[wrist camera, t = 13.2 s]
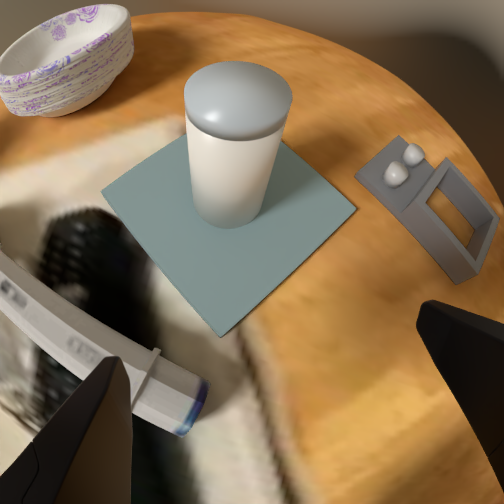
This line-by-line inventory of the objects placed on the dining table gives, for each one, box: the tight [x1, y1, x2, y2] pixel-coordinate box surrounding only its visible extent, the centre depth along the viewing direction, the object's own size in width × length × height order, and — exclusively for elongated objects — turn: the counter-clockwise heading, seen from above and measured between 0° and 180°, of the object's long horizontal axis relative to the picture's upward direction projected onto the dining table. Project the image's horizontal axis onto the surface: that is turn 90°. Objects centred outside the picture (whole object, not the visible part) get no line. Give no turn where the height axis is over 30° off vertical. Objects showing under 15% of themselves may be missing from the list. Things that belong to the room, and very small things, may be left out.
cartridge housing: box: [355, 135, 500, 285], centre depth 24 cm, size 13×8×3 cm, turn 44°
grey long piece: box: [0, 242, 211, 438], centre depth 16 cm, size 5×7×25 cm
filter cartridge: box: [184, 61, 292, 229], centre depth 17 cm, size 5×5×10 cm
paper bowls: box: [0, 4, 134, 117], centre depth 22 cm, size 15×15×8 cm
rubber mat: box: [101, 133, 356, 338], centre depth 22 cm, size 14×14×1 cm
